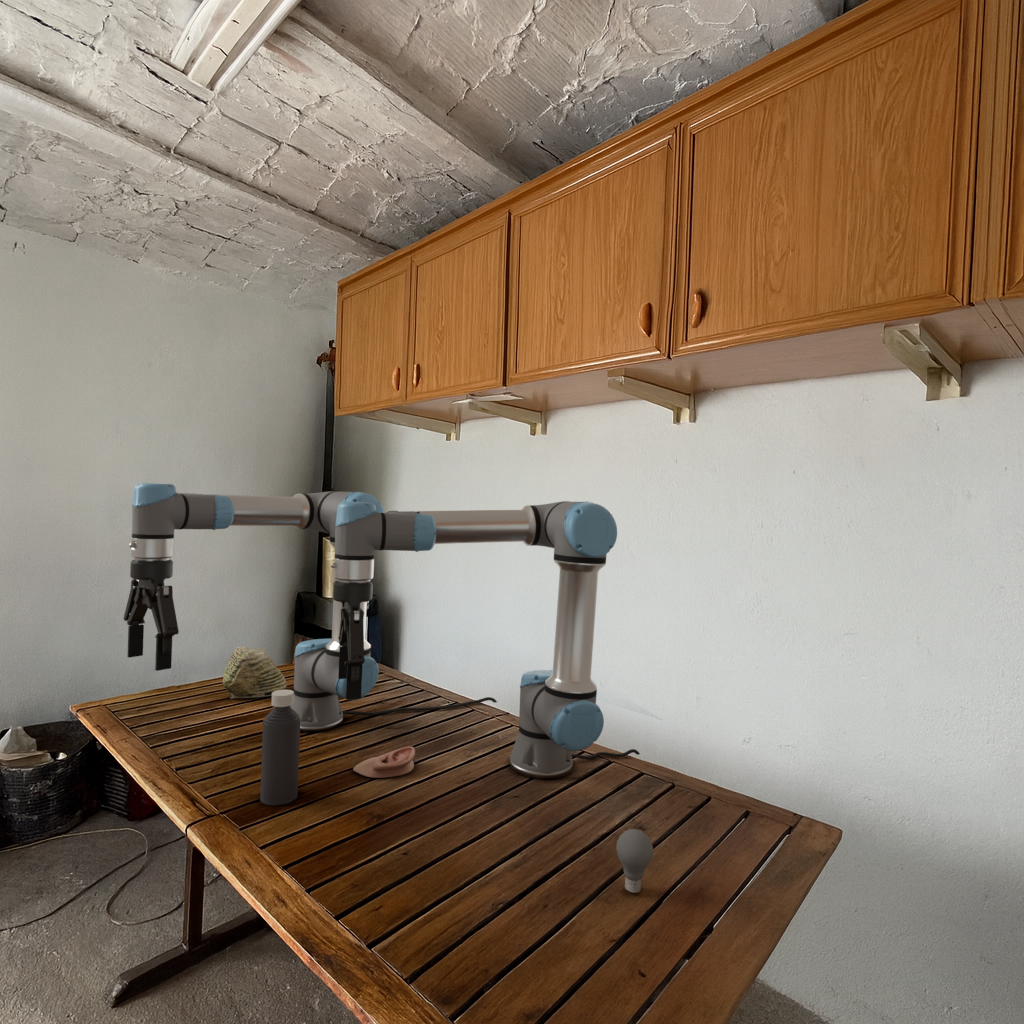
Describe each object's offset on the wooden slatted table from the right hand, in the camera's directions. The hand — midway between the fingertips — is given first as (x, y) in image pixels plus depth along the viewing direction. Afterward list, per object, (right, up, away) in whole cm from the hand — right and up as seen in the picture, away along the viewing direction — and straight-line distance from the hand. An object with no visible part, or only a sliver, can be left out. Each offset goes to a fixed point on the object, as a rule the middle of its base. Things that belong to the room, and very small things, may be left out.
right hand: (349, 688), depth 125 cm
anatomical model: (+2, -26, +24) cm, 35 cm away
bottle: (-17, -25, +8) cm, 31 cm away
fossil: (-49, -23, +74) cm, 91 cm away
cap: (-16, -4, +8) cm, 18 cm away
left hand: (-42, +4, +5) cm, 43 cm away
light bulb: (+52, -29, -19) cm, 62 cm away
